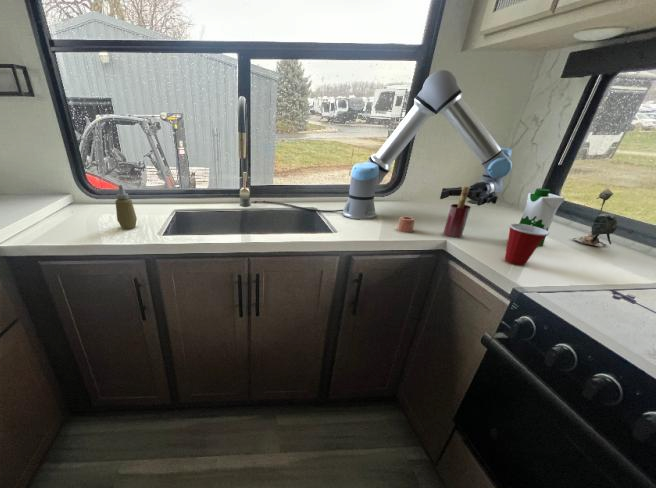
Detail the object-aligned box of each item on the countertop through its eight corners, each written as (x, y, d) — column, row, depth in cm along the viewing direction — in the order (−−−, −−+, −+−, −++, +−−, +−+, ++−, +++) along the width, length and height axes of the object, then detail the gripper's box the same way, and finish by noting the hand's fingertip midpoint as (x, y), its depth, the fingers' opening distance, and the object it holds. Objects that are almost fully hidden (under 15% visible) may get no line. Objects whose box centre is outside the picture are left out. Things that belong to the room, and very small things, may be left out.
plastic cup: (542, 269, 108) (558, 233, 102) (504, 267, 109) (518, 231, 104) (525, 257, 117) (540, 223, 111) (491, 255, 119) (503, 221, 113)
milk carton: (508, 239, 133) (527, 187, 123) (531, 239, 133) (552, 187, 123) (522, 246, 126) (545, 192, 116) (547, 246, 125) (571, 192, 116)
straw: (449, 235, 136) (463, 186, 127) (449, 233, 138) (462, 185, 129) (455, 236, 136) (470, 187, 126) (455, 234, 137) (469, 186, 128)
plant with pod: (592, 249, 123) (621, 193, 113) (568, 239, 133) (593, 186, 123) (615, 249, 123) (646, 193, 113) (590, 239, 133) (617, 187, 123)
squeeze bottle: (115, 228, 147) (105, 186, 138) (129, 223, 153) (121, 182, 144) (128, 231, 143) (119, 187, 135) (142, 226, 150) (134, 184, 141)
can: (443, 237, 136) (451, 207, 130) (442, 232, 141) (450, 203, 135) (462, 239, 133) (471, 209, 127) (460, 234, 139) (469, 205, 133)
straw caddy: (396, 232, 141) (399, 219, 139) (397, 228, 146) (400, 215, 143) (412, 234, 139) (415, 220, 136) (412, 229, 144) (415, 217, 141)
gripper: (511, 205, 133) (493, 215, 121) (447, 195, 150) (425, 202, 138) (519, 186, 130) (500, 193, 118) (452, 177, 146) (429, 183, 134)
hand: (459, 198), depth 128 cm, fingers open, 13 cm apart
